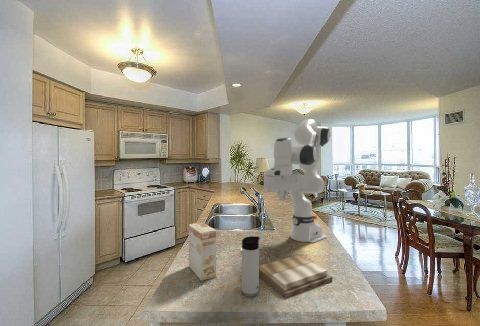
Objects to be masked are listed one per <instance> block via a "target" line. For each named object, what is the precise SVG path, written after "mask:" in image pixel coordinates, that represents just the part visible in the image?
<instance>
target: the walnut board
mask: <svg viewBox="0 0 480 326" xmlns="http://www.w3.org/2000/svg"><path fill="white" fill-rule="evenodd" d="M260 277H261V279H263V281H265V282H266V283H268V284H269V285H270V286H271V287H272V288H273V289H274V290H276V291H277V292H278V293H280V294H281V295H282V296H283V297H284V298H286V299H287V298H288V297H291V296H294V295H296V294H300V293H302V292H303V293H304V292H305V291H309V290H311V289H314V288H316V287H319V286H321V285H324V284H326V283H329V282H332V281H333V278H334V277H333V276H332V275H330V274H328V273H327V276H324V277H321V278H318V279H316V280H313V281H310V282H307V283H304V284H301V285H299V286H296V287H293V288H290V289H287V290H284V289H283V288H281V287H280V286H279V285H278V284H276V283H275V282H274V281H273V280H272V279H270V278H269V277H268V276H267V275H265V274H264V273H263V272H262V271H261V270H260V267H259V278H260Z"/></svg>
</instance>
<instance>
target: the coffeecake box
mask: <svg viewBox="0 0 480 326" xmlns="http://www.w3.org/2000/svg"><path fill="white" fill-rule="evenodd" d="M188 267H189V268H190V270H192V272H193V273H194V274H195V276H197V279H199V280H200V281H201V282H203V281H207V280H209V279H213V278H216V277H217V230H216V229H215V228H213V227H211V226H209V225H207V224H206V223H204V222H195V223H188Z"/></svg>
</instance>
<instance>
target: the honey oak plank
mask: <svg viewBox="0 0 480 326" xmlns="http://www.w3.org/2000/svg"><path fill="white" fill-rule="evenodd" d="M312 262H313V261H311V260H309V259H307V258H306V257H304V256H302V255H300V254H298V255H293V256H291V257H286V258H282V259H279V260H275V261H272V262H268V263H263V264H259V268H260V270H261V271H262V272H263V273H264V274H265V275H267V276H268V277H269V278H270V279H272V274H275V273H279V272H282V271H285V270H289V269H292V268H295V267H299V266H302V265H305V264H309V263H312Z"/></svg>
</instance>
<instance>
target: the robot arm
mask: <svg viewBox="0 0 480 326" xmlns="http://www.w3.org/2000/svg"><path fill="white" fill-rule="evenodd" d="M331 135H332V134H331V129H330V128H329V127H327V126H318V123H317V122H316V121H315V120H314V119H311V118H307V119H305V120H303V121H302V122H301V123H299V124H298V125H297V127H296V128H295V130H294V138H295V141H296V142H298V144H295V145H294V144H293V143H292V142H293V141H292V138H290V137H279V138H277V139H275V141H274V145H273V158H274V159H273V160H274V161H273V167H272V168H269V169H266V170H265V171H264V175H265V177H264V179H263V190H264V192H266V193H274V192H277V195H278V199H279V200H280V201H286V200H287V197H288V194H289V196H290V197H291V200H292V205H293V206H292V207H293V208H292V209H293V214H292V229H291V233H290V238H291V240H294V241H296V242H301V243H302V242H306V243H312V244H314V243H317V242H319V241H322V240H324V239H327V235H326V234H325V233H323V228H322V226H321V225H319V224H318V223H317V222H316V221H315V220H317V219H318V216H317V215H313V204H312V201H311V200H310V199H308V198H307V197H306V196H305V194H313V195H315V194H321V193H322V192H323V191H324V189H325V186H326V185H325V181H324V179H323V177H322V176H320V175H319V173H318V164H319V161H320V157H321V156H320V155H321V147H324V146H325V145H326V144H328V142H329V141H330V140H331V139H330V138H331ZM293 165H298V168H299V169H300V170H301V172H304V174H300V172H299V171H298V170H293Z"/></svg>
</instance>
